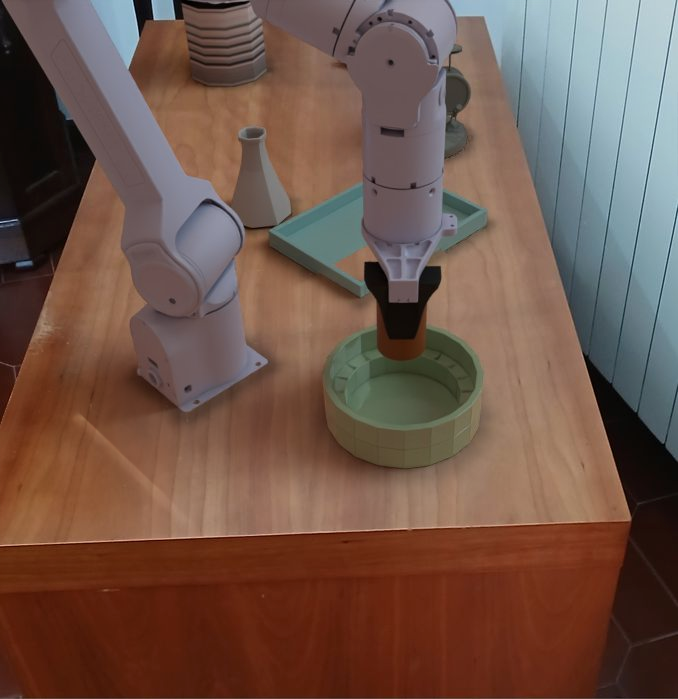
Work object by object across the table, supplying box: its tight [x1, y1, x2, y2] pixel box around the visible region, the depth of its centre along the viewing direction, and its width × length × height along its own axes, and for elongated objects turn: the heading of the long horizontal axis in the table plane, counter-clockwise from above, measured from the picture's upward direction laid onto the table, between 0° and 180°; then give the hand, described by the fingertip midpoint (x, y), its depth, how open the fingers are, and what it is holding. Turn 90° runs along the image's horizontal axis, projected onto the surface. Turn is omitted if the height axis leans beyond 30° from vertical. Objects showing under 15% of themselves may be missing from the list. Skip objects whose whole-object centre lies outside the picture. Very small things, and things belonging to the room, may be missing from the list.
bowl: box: [322, 323, 485, 469], centre depth 78 cm, size 13×13×5 cm
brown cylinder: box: [375, 300, 428, 361], centre depth 72 cm, size 4×4×10 cm
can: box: [180, 0, 268, 88], centre depth 130 cm, size 11×11×12 cm
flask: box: [229, 125, 292, 229], centre depth 101 cm, size 7×7×10 cm
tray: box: [267, 180, 489, 299], centre depth 100 cm, size 19×14×2 cm
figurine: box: [442, 43, 472, 159], centre depth 112 cm, size 11×11×12 cm
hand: (401, 318), depth 74 cm, fingers closed on brown cylinder, 4 cm apart
